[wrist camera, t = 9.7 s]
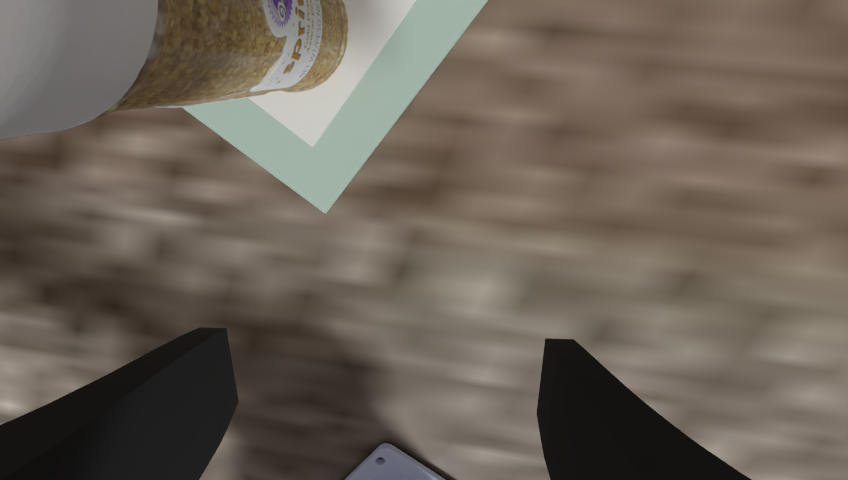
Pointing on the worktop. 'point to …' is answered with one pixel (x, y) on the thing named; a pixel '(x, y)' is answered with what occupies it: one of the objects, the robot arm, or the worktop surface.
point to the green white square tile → (345, 96)
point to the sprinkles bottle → (156, 55)
